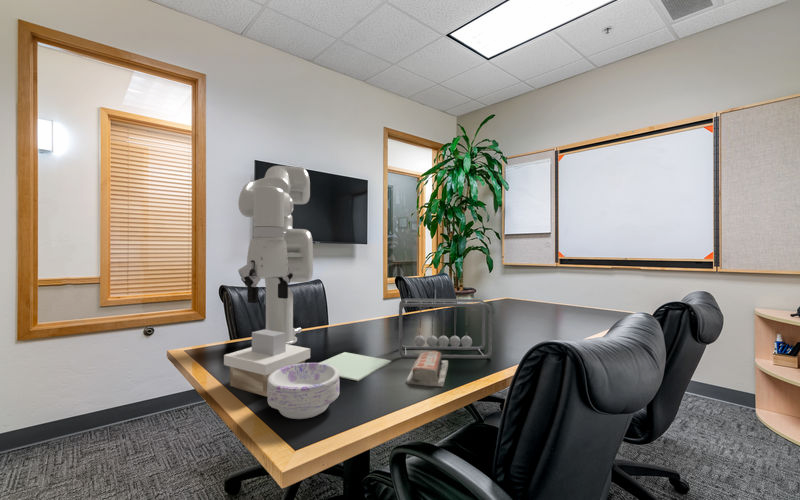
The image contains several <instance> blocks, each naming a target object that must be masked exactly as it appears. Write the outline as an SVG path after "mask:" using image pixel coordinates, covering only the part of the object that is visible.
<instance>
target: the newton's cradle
mask: <svg viewBox="0 0 800 500" xmlns="http://www.w3.org/2000/svg"><path fill="white" fill-rule="evenodd" d="M398 306H399V307H398V354H399V355H400V356H401V357H402V358H404V359H418V356H419V355H420V354H412V353H411V354H408V353H407V350H406V349H415V350H417V351H418V350H419V351H421V350H422V351H425V350H426V351H429V350H430V351H479V353H480V354H441V359H465V360H466V359H467V360H469V359H473V360H474V359H475V360H476V359H478V360H480V359H481V360H482V359H483V360H486V359H488V358H490V357H491V356H492V353H493V309H492V306H491V305H490V304H488V303H485V301H484V300H483V299H480V298H479V299H478V298H403V299H401V300H400V302H399V303H398ZM405 307H416V308H417V307H419V327H421V324H422V323H421V322H422V307H429V308H430V307H431V308H434V307H437V308H438V307H439V308H441V307H442V308H443V318H442V333H443V334H442V335H441V336H439V337H437V336H435V335H434V334H433V331H434V330H433V327H434V315H431V335H429V336H427V338H426V339H425V337H424V336H423V335H421V333H419V334H418V335H417V336H415V337H414V339H413V343H414V345H415V346H413V345H410V346H409V345H404V344H403V309H404V308H405ZM448 307H449V308H451V307H452V308H454V309H453V310H454V311H453V312H454V313H453V314H454V317H453V318H454V319H453V320H454V322H453V323H454V324H453V326H454V335H452V336H451V337H449V338H448V337H447V336H446V335H445V316H446V314H445V313H446V311H445V310H446V308H448ZM457 308H465V314H466V324H468V321H469V318H468V317H469V311H467V308H481V345H479V346H472V344H473V340H472V338H471V337H470V336H468V333H465V335H464V336H463V337H461V339H460V337H459V336H457V335H456V331H457V330H456V329H457V328H456V327H457V326H456V325H457V321H456V309H457ZM486 309H487V310H488V334H487V337H488V345H487V346H488V347H487V350H488V351H487V354H484V353H483V351H481V350H483V349H484V348H485V346H486ZM425 343H426V344H427V346H426V345H425ZM437 344H438V346H437ZM424 345H425V346H424ZM448 345H450V346H448ZM461 345H462V346H461ZM403 350H404V352H403Z"/></svg>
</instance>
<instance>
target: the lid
mask: <svg viewBox="0 0 800 500" xmlns="http://www.w3.org/2000/svg"><path fill="white" fill-rule="evenodd" d="M308 359H311V348H308V347H303V346H297V345H293V344H290V345H288V344H286V333H283V332H277V331H271V330H266V328H264V329H260V330H255V331H252V332H251V346H250V347H247V348H244V349H240V350H237V351H234V352H230V353H226V354H224V355H223V366H226V367H234V368H238V369H242V370H246V371H250V372H254V373H258V374H262V375H268V374H271V373H273V372H274V371H276V370H278V369H280V368H283V367H286V366H290V365H294V364H296V363H299V362H301V361H304V360H305V361H306V360H308Z"/></svg>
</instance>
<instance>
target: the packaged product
mask: <svg viewBox="0 0 800 500" xmlns="http://www.w3.org/2000/svg"><path fill="white" fill-rule="evenodd" d="M418 355H419V356H418V358H416V360H415V362H414V363H413V365H412V367H411V370H410V372H409V375H408V376H407V379H406V381H405V383H406V384H407V385H418V386H419V385H420V386H430V387H442V388H443V387H444V385H445V381H446V376H447V372H448V368H449V360H447V359H446V360H445V359H444V360H442V358H441V355H442V353H441V352H440V351H438V350H430V351H425V352H421V353H420V354H418Z"/></svg>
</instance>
